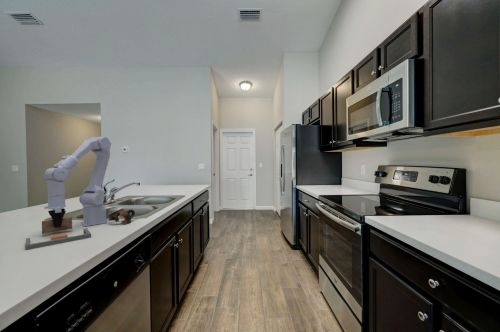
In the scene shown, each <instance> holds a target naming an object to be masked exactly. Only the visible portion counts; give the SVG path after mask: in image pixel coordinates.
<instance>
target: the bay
mask: <svg viewBox="0 0 500 332" xmlns="http://www.w3.org/2000/svg"><path fill="white" fill-rule="evenodd" d="M89 238H92V233H91V231H90V230H89V229H88V228H87V227H86V228H83V234H77V235H72V236H68V237H66V238H61V239H55V240H51V239H50V240H46V241H39V242H34V243H31V237H28V238H27V237H26V238H25V247H24V248H25V251H27V250H32V249H38V248H42V247H47V246H53V245H59V244H64V243H70V242H74V241H78V240H84V239H85V240H86V239H89Z"/></svg>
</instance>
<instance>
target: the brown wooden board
mask: <svg viewBox="0 0 500 332" xmlns="http://www.w3.org/2000/svg"><path fill="white" fill-rule="evenodd" d="M72 229H73V217H72V216H70V217H63V219H62V225H61V227H57V228H55V227H54V224H53V220H52V219H48V220H47V219H46V220H42V221H41V234H42V235H44V234H51V233H56V232H61V231H69V230H72Z"/></svg>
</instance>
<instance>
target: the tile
mask: <svg viewBox="0 0 500 332" xmlns="http://www.w3.org/2000/svg"><path fill="white" fill-rule="evenodd" d="M66 237H69V235H68V233H67V232H60V233H55V234H50V240H55V239H61V238H66Z"/></svg>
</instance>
